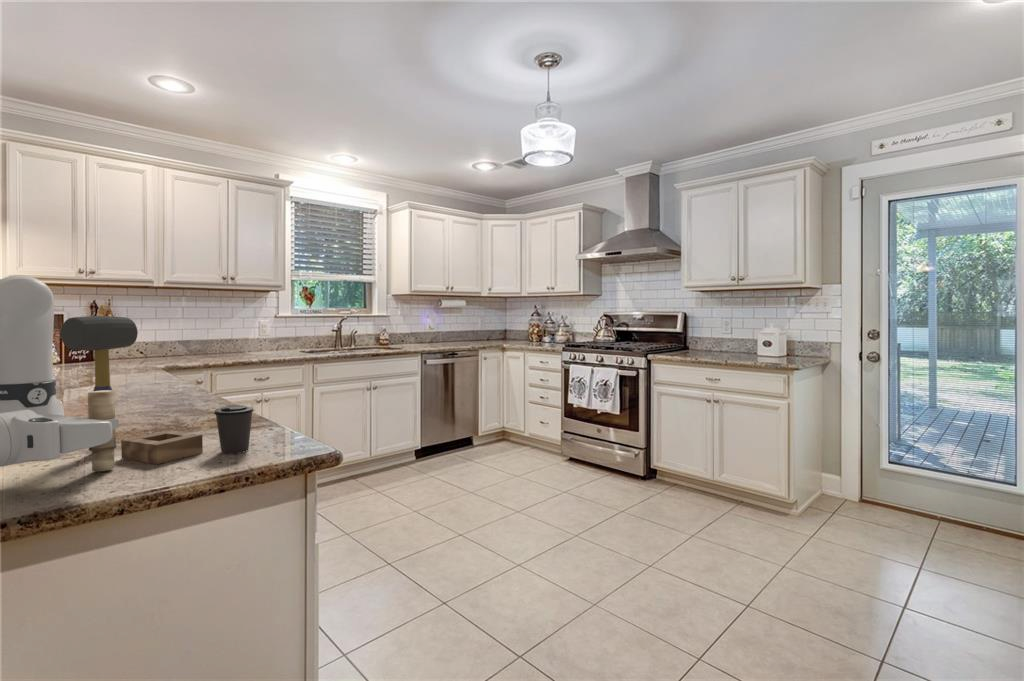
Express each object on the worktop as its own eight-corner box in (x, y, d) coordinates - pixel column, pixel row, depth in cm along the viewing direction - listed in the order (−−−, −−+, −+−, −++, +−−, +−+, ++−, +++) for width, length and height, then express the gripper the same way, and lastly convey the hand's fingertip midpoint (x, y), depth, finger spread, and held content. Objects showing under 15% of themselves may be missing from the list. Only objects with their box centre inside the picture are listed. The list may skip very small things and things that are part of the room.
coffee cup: (212, 457, 111) (211, 410, 110) (215, 448, 118) (214, 404, 118) (254, 453, 114) (254, 408, 114) (255, 444, 122) (254, 402, 121)
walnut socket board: (121, 458, 109) (121, 440, 109) (168, 447, 118) (168, 430, 118) (157, 464, 105) (156, 445, 105) (202, 452, 114) (202, 434, 114)
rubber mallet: (89, 461, 107) (84, 315, 106) (61, 458, 109) (55, 315, 108) (144, 446, 119) (140, 315, 118) (118, 444, 121) (114, 315, 120)
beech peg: (84, 470, 99) (81, 392, 99) (108, 464, 103) (106, 389, 102) (98, 473, 98) (96, 393, 97) (122, 467, 102) (120, 391, 101)
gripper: (-16, 449, 92) (74, 432, 105) (54, 461, 84) (142, 442, 97) (-17, 413, 92) (73, 401, 104) (53, 423, 84) (141, 409, 97)
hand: (107, 421), depth 101 cm, fingers closed on beech peg, 4 cm apart
